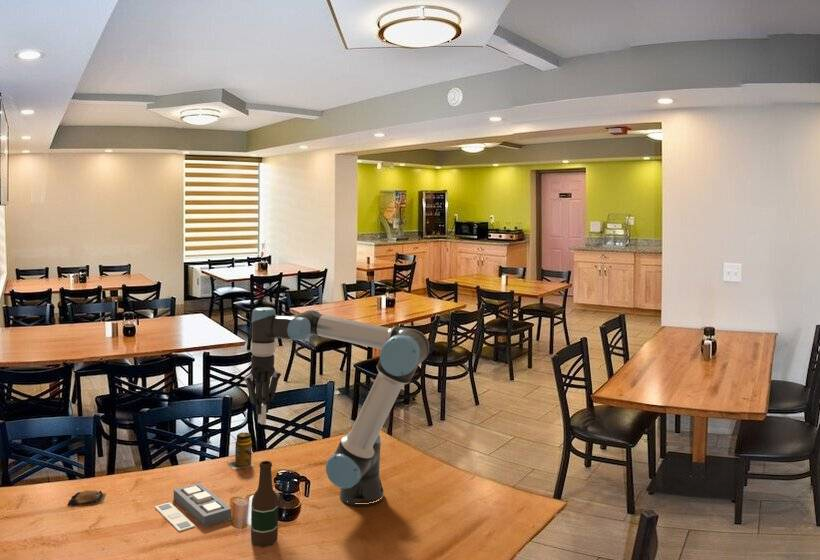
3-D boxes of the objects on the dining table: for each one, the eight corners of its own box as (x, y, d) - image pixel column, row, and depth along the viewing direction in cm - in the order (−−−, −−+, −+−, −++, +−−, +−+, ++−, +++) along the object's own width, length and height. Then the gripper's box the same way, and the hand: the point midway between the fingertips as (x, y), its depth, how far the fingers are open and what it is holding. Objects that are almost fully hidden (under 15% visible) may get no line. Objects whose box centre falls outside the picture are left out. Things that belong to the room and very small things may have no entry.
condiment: (254, 466, 240) (255, 435, 239) (232, 470, 235) (233, 439, 234) (248, 459, 246) (249, 430, 245) (227, 463, 241) (227, 433, 240)
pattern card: (195, 526, 192) (195, 525, 192) (178, 531, 188) (179, 530, 188) (169, 503, 207) (169, 501, 206) (154, 507, 203) (154, 506, 203)
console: (231, 519, 198) (231, 508, 197) (204, 527, 192) (204, 516, 191) (199, 492, 215) (199, 482, 215) (173, 499, 209) (173, 489, 209)
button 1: (201, 497, 209) (201, 490, 208) (188, 501, 206) (188, 493, 206) (195, 492, 212) (196, 485, 212) (183, 496, 209) (183, 489, 209)
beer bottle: (252, 534, 189) (254, 457, 187) (279, 534, 190) (280, 457, 187) (248, 547, 181) (250, 467, 179) (275, 547, 182) (277, 467, 180)
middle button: (211, 503, 203) (211, 495, 203) (198, 506, 200) (198, 499, 200) (205, 498, 206) (205, 491, 206) (192, 501, 203) (192, 494, 203)
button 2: (221, 514, 198) (221, 506, 197) (208, 518, 195) (208, 510, 194) (215, 509, 201) (215, 501, 201) (202, 513, 198) (202, 505, 198)
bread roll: (106, 494, 212) (106, 484, 212) (102, 505, 204) (102, 494, 204) (71, 497, 209) (71, 487, 209) (66, 508, 201) (66, 497, 201)
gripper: (274, 350, 216) (273, 416, 218) (239, 354, 207) (238, 423, 209) (285, 353, 210) (284, 422, 212) (250, 358, 201) (249, 429, 204)
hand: (261, 423), depth 211 cm, fingers closed
